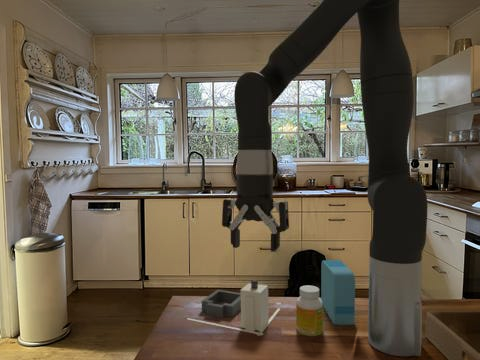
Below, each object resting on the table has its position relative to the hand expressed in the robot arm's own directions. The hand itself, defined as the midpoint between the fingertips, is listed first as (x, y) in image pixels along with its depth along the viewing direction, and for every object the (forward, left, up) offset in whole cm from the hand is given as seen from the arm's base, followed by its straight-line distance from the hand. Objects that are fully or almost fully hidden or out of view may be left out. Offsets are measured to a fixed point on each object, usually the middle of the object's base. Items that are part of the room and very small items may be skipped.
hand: (254, 249), depth 74 cm
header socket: (+9, -5, -16) cm, 19 cm away
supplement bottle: (-11, -3, -18) cm, 21 cm away
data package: (-15, -13, -18) cm, 27 cm away
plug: (0, 0, -16) cm, 16 cm away
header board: (+6, -3, -17) cm, 19 cm away
